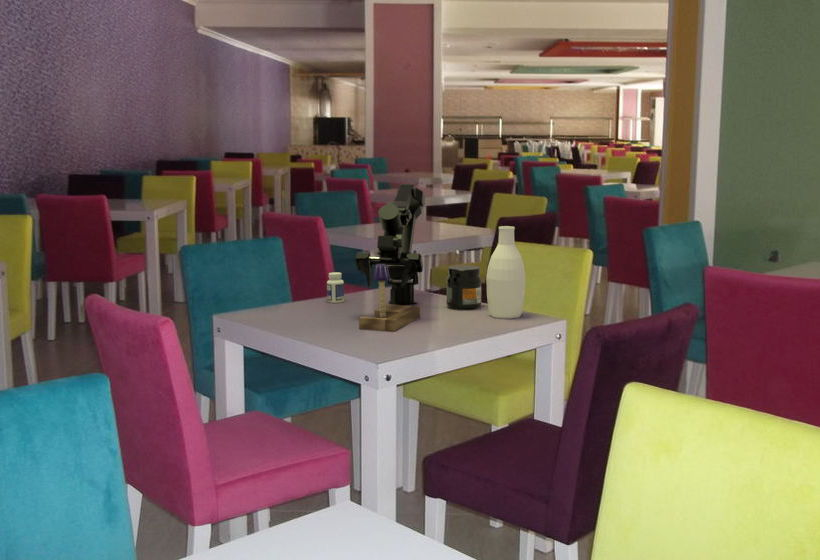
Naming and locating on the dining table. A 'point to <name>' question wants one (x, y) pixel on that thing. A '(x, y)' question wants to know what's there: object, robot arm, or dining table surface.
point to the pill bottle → (335, 288)
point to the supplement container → (463, 287)
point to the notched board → (390, 318)
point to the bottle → (505, 278)
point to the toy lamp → (381, 285)
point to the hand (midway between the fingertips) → (385, 286)
